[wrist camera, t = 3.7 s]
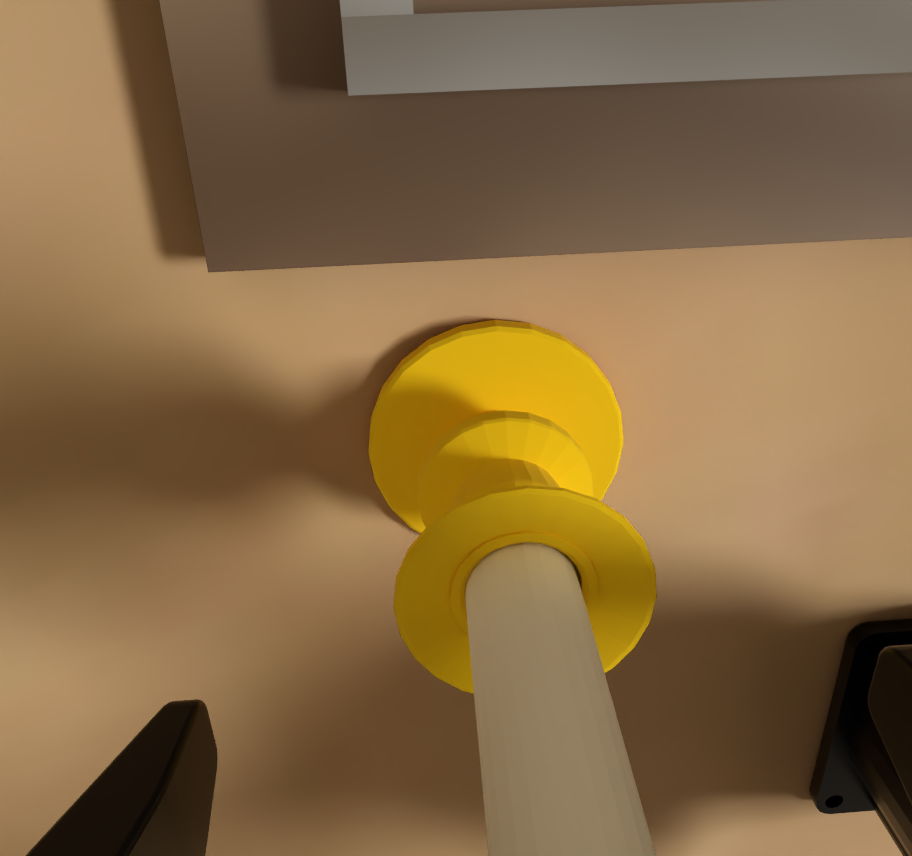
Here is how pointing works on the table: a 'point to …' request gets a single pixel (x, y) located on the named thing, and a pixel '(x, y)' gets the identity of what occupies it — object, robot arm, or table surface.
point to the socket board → (539, 126)
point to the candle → (521, 573)
